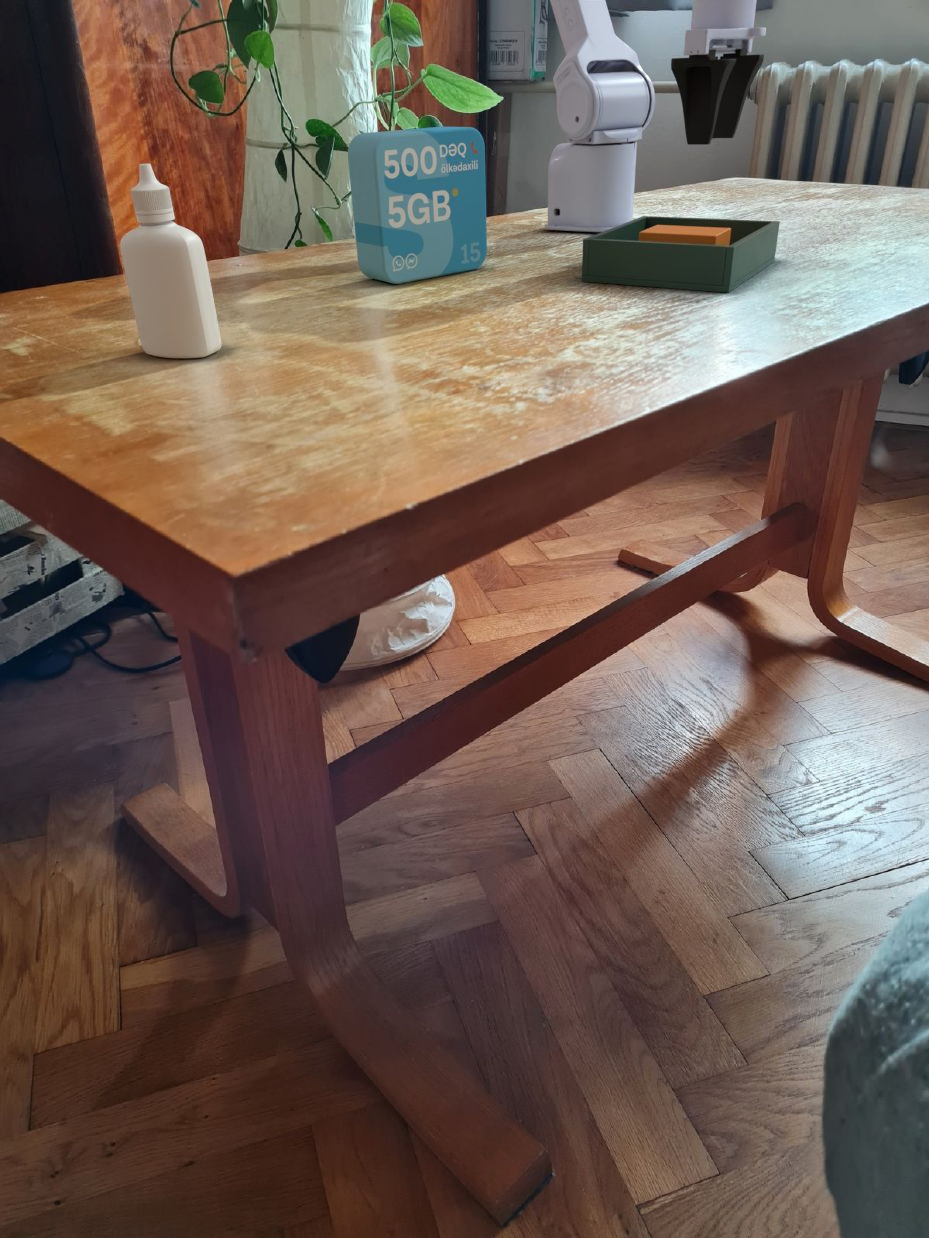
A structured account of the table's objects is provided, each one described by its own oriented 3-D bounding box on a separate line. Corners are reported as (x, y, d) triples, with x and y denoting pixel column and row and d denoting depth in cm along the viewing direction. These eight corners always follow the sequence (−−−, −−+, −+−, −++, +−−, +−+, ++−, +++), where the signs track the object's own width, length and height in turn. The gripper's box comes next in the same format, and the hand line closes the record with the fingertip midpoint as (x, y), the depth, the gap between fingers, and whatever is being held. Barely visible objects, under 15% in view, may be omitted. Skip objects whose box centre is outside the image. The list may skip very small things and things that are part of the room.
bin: (581, 281, 79) (582, 239, 77) (640, 253, 89) (643, 216, 87) (728, 293, 73) (734, 247, 71) (774, 262, 83) (780, 221, 81)
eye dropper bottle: (192, 339, 66) (156, 159, 60) (230, 352, 63) (196, 162, 56) (137, 352, 64) (93, 165, 57) (173, 366, 60) (131, 169, 54)
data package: (385, 287, 80) (372, 136, 73) (358, 280, 83) (344, 134, 76) (488, 267, 86) (485, 126, 79) (460, 262, 89) (455, 125, 83)
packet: (636, 267, 80) (638, 232, 79) (654, 259, 84) (656, 224, 82) (712, 272, 77) (716, 235, 76) (727, 263, 80) (731, 228, 79)
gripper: (748, -37, 74) (729, 147, 81) (792, -28, 84) (771, 135, 91) (667, -30, 77) (655, 147, 84) (718, -21, 87) (704, 135, 94)
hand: (711, 141), depth 88 cm, fingers open, 7 cm apart
